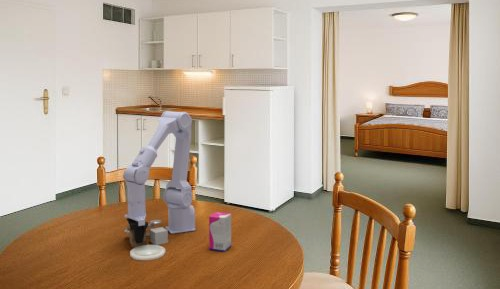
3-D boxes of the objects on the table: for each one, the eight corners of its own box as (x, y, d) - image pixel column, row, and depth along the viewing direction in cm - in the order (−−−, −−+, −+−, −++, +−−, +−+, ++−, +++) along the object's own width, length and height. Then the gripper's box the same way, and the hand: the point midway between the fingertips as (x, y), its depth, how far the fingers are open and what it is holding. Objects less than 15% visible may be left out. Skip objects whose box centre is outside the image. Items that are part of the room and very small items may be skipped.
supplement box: (231, 246, 152) (231, 213, 151) (225, 252, 147) (224, 218, 145) (215, 244, 154) (215, 211, 153) (208, 250, 149) (208, 216, 147)
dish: (160, 245, 152) (160, 242, 152) (169, 257, 143) (169, 253, 142) (126, 250, 148) (126, 247, 147) (134, 262, 138) (133, 259, 138)
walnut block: (142, 241, 156) (142, 228, 156) (146, 245, 152) (145, 232, 152) (129, 243, 155) (129, 230, 154) (132, 247, 151) (132, 234, 150)
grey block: (162, 239, 159) (161, 227, 158) (167, 243, 155) (167, 230, 155) (150, 241, 156) (149, 229, 156) (155, 245, 153) (155, 232, 152)
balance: (160, 232, 166) (159, 219, 165) (162, 235, 162) (162, 222, 162) (123, 237, 160) (123, 223, 160) (126, 240, 157) (125, 227, 156)
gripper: (120, 197, 156) (121, 235, 158) (128, 208, 143) (130, 249, 145) (140, 195, 159) (141, 232, 161) (150, 205, 146) (151, 245, 148)
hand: (137, 240), depth 153 cm, fingers closed on walnut block, 4 cm apart
